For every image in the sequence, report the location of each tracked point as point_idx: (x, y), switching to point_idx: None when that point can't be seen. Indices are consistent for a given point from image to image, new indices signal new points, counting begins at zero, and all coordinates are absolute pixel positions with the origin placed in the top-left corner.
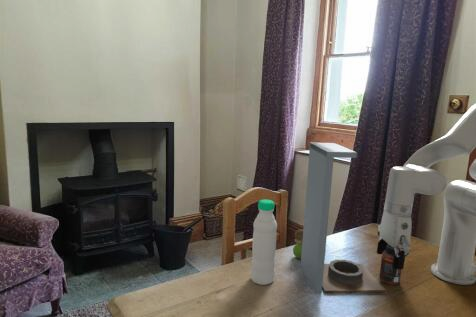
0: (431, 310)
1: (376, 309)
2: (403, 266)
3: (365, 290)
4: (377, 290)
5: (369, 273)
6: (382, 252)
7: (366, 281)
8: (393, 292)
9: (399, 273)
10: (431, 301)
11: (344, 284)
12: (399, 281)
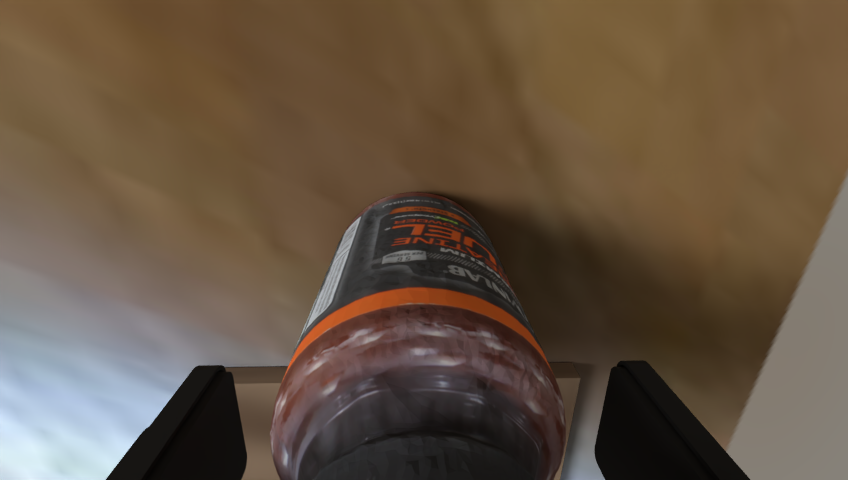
0: (829, 164)
1: None
2: (663, 381)
3: (559, 476)
4: (570, 418)
5: None
6: (232, 437)
7: None
8: (571, 306)
9: (505, 273)
10: (745, 85)
11: None
12: (474, 218)
